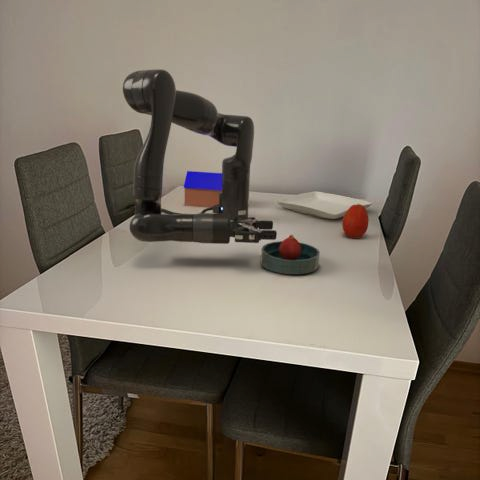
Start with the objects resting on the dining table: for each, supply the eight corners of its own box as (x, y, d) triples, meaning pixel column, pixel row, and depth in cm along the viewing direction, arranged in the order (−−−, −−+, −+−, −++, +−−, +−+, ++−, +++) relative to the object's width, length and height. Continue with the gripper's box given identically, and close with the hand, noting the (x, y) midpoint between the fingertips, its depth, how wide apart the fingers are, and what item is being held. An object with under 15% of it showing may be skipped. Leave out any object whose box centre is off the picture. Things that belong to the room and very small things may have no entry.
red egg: (349, 230, 151) (354, 198, 146) (371, 236, 146) (377, 203, 141) (335, 235, 146) (340, 202, 141) (357, 242, 141) (363, 207, 136)
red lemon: (276, 259, 123) (278, 230, 119) (297, 259, 124) (300, 230, 120) (279, 267, 118) (282, 237, 114) (301, 267, 118) (304, 237, 115)
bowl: (250, 267, 119) (251, 252, 117) (276, 251, 130) (277, 237, 128) (304, 281, 112) (305, 265, 110) (326, 263, 124) (328, 248, 122)
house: (235, 209, 171) (236, 177, 165) (183, 205, 173) (183, 173, 168) (240, 201, 181) (241, 171, 176) (191, 198, 184) (191, 168, 178)
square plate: (372, 211, 175) (374, 201, 173) (334, 224, 157) (335, 213, 155) (314, 198, 191) (315, 189, 189) (273, 209, 173) (274, 198, 171)
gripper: (211, 221, 107) (279, 223, 108) (211, 206, 120) (272, 208, 121) (210, 252, 111) (276, 253, 112) (211, 234, 123) (270, 235, 124)
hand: (274, 229), depth 116 cm, fingers open, 8 cm apart
